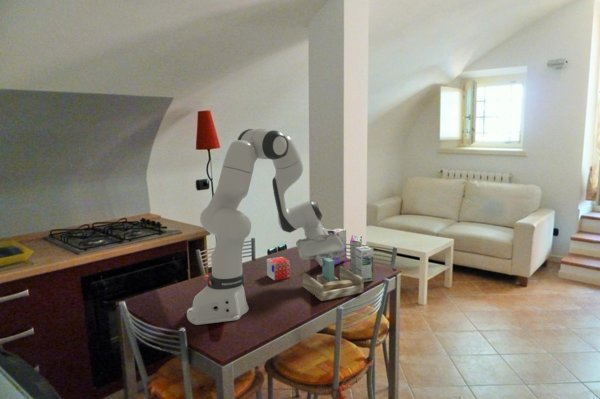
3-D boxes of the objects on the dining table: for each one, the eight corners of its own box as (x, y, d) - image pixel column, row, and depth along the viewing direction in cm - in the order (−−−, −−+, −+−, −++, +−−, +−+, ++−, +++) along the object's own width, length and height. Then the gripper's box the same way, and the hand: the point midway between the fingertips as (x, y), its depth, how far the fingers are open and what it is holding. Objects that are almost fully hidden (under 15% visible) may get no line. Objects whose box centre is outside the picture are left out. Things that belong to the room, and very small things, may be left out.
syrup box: (361, 282, 182) (361, 250, 180) (355, 278, 188) (355, 246, 185) (373, 280, 184) (373, 248, 182) (367, 276, 189) (367, 245, 187)
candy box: (338, 258, 216) (338, 227, 214) (346, 261, 212) (346, 229, 209) (318, 264, 208) (318, 232, 205) (326, 267, 203) (326, 234, 200)
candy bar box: (351, 268, 201) (351, 234, 199) (362, 268, 200) (362, 235, 198) (349, 276, 191) (349, 240, 188) (361, 276, 190) (361, 241, 187)
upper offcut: (323, 291, 169) (323, 285, 168) (321, 287, 172) (321, 282, 172) (352, 288, 170) (352, 282, 170) (349, 285, 174) (349, 279, 174)
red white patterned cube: (290, 277, 191) (289, 260, 190) (274, 280, 187) (273, 263, 186) (282, 272, 198) (282, 256, 197) (267, 275, 194) (266, 259, 193)
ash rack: (321, 300, 164) (321, 286, 163) (302, 286, 179) (302, 273, 178) (363, 292, 171) (363, 278, 170) (342, 279, 187) (342, 266, 186)
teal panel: (329, 289, 175) (328, 261, 173) (322, 284, 181) (322, 257, 179) (334, 288, 176) (334, 260, 174) (327, 283, 182) (327, 257, 180)
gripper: (296, 236, 178) (307, 264, 171) (338, 230, 187) (350, 257, 179) (292, 244, 183) (302, 272, 176) (334, 238, 191) (345, 264, 184)
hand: (327, 264), depth 178 cm, fingers closed on teal panel, 2 cm apart
